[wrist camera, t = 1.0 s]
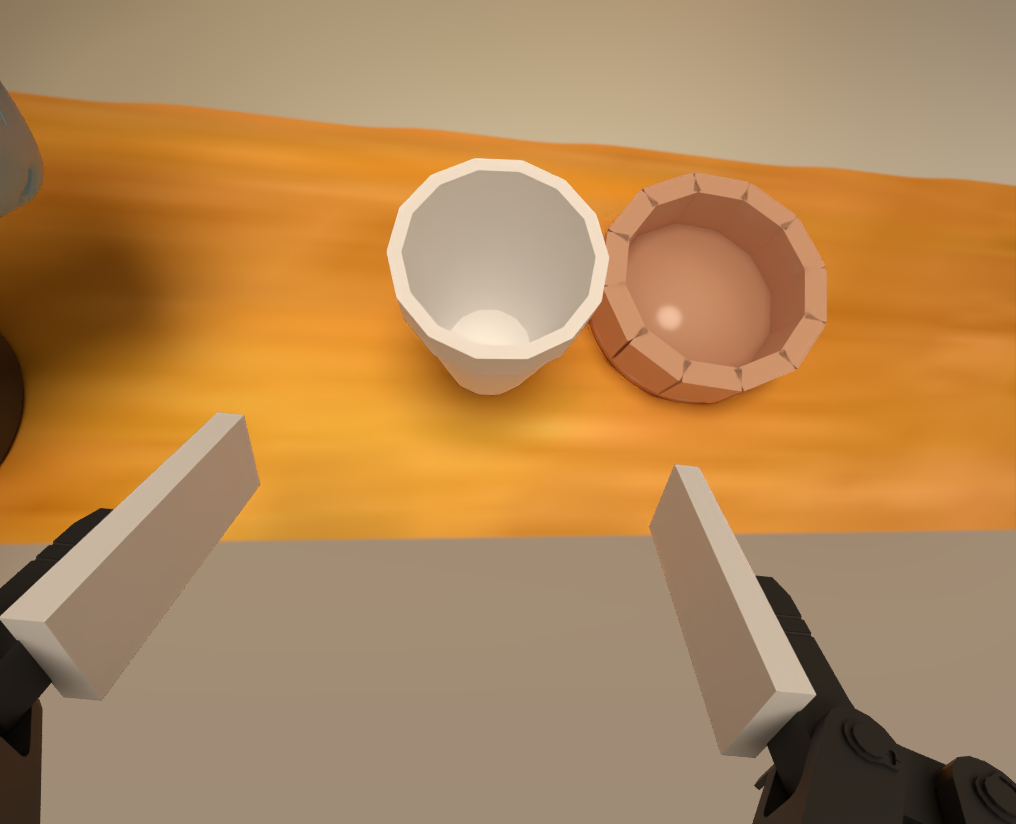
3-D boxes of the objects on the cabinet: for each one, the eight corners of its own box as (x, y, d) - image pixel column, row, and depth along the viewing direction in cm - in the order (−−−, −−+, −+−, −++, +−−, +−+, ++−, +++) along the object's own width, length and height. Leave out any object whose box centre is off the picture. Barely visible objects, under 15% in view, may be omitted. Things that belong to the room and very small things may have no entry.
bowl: (576, 386, 32) (593, 368, 28) (597, 200, 35) (615, 157, 31) (779, 417, 33) (827, 405, 28) (782, 233, 36) (826, 195, 31)
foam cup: (478, 266, 33) (483, 120, 20) (579, 342, 33) (648, 241, 20) (393, 363, 31) (340, 268, 18) (499, 445, 31) (519, 406, 18)
